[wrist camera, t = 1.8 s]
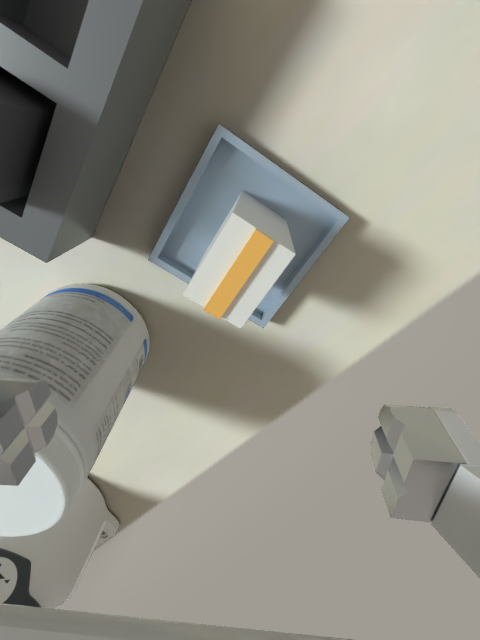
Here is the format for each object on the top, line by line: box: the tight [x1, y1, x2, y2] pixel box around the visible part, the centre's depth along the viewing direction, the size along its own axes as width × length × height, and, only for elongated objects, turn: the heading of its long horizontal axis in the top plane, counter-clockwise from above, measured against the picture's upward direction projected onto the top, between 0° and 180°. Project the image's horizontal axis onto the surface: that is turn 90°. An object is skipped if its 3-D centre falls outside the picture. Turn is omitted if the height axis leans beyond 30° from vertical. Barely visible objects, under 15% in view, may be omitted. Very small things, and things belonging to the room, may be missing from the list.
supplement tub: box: [0, 284, 150, 537], centre depth 23 cm, size 10×10×15 cm
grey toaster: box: [0, 0, 191, 263], centre depth 17 cm, size 18×9×10 cm, turn 148°
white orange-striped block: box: [183, 190, 296, 329], centre depth 21 cm, size 5×4×8 cm
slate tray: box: [148, 124, 349, 328], centre depth 24 cm, size 10×10×2 cm
